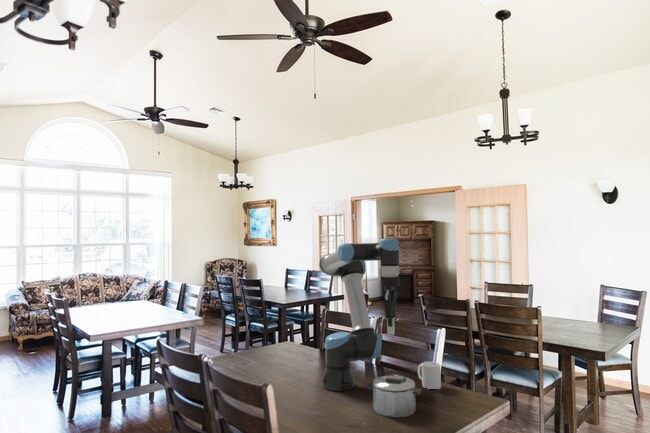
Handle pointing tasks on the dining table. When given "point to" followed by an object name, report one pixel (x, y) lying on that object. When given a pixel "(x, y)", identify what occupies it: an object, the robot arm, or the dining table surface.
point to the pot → (394, 401)
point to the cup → (430, 375)
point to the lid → (394, 383)
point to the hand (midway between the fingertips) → (391, 333)
